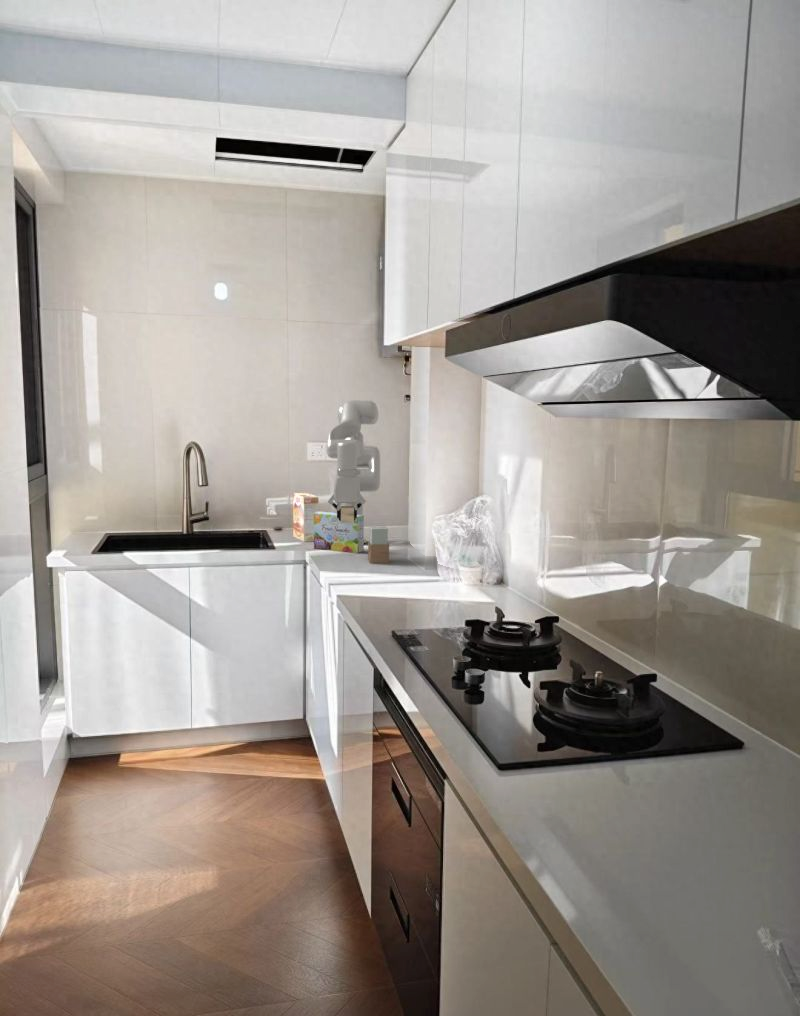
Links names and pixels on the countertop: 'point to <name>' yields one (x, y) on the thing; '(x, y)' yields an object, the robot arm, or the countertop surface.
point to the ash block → (347, 514)
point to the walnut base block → (378, 553)
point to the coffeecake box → (304, 516)
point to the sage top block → (378, 536)
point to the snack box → (338, 533)
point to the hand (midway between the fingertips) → (346, 519)
